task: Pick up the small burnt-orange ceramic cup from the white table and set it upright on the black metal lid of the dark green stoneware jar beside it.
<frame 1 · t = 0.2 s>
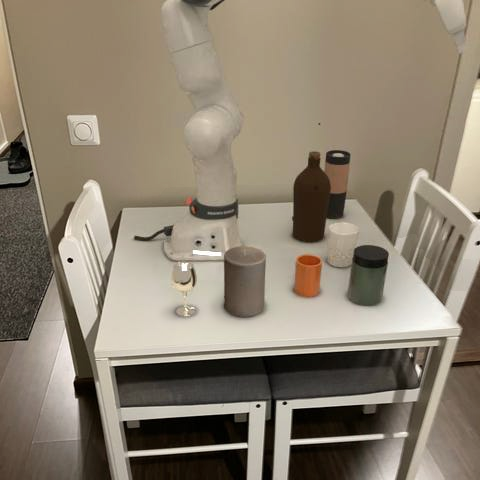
hand: (462, 48, 117), 54 cm above the table, tool tilted 30°, fingers open, 8 cm apart
travel mug: (332, 215, 180), on the table
wineglass: (185, 311, 130), on the table
white cup: (339, 262, 152), on the table
jar lid: (371, 254, 129), point 12 cm above the table, screwed on, not yet turned
jar: (364, 296, 136), on the table
olive oil: (308, 236, 166), on the table
cup: (306, 290, 138), on the table
pillar candle: (244, 307, 132), on the table
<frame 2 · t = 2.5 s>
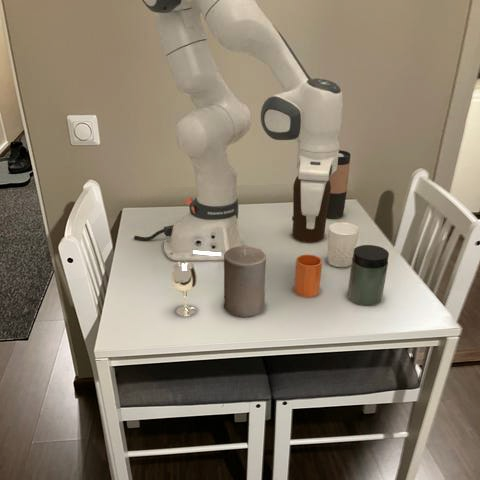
hand: (312, 219, 128), 19 cm above the table, tool pointing down, fingers open, 8 cm apart
nothing on the table moved.
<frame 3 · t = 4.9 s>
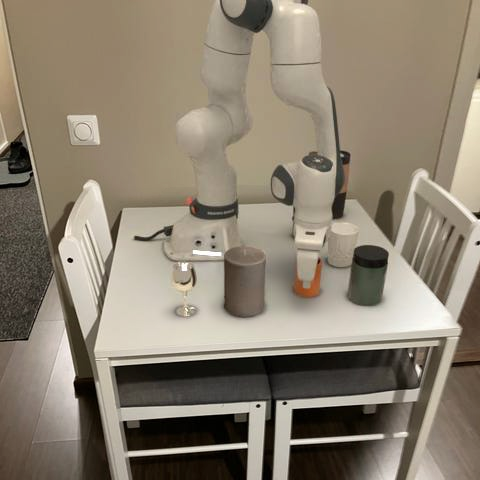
hand: (308, 279, 136), 3 cm above the table, tool pointing down, fingers closed on cup, 6 cm apart
cup: (306, 290, 138), on the table, touching gripper
everything else where it was.
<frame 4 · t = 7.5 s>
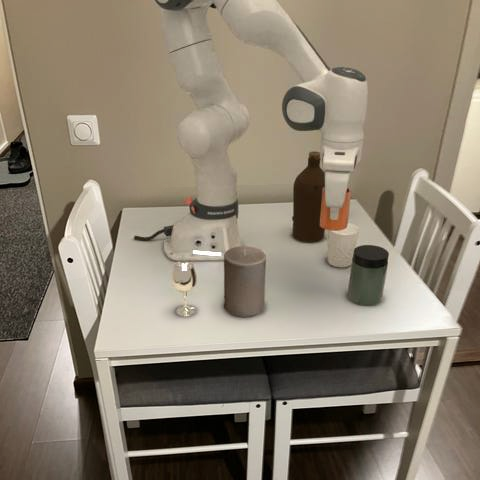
hand: (335, 212, 125), 21 cm above the table, tool pointing down, fingers closed on cup, 6 cm apart
cup: (333, 225, 127), point 18 cm above the table, touching gripper
everything else where it was.
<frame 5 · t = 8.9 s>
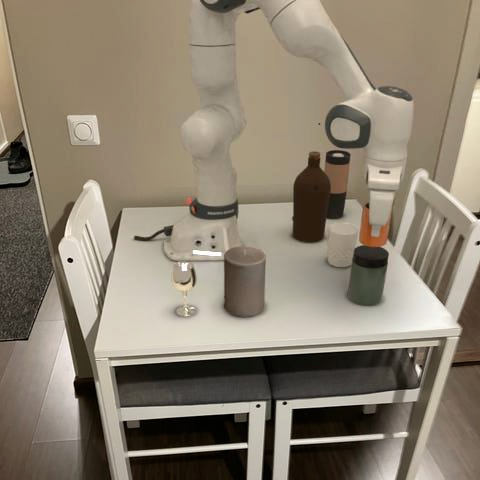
hand: (374, 228, 126), 18 cm above the table, tool pointing down, fingers closed on cup, 6 cm apart
cup: (372, 241, 128), point 15 cm above the table, touching gripper
everything else where it was.
when the fingers open (15 cm above the table, at t = 10.2 s): cup stays where it is, resting on jar lid.
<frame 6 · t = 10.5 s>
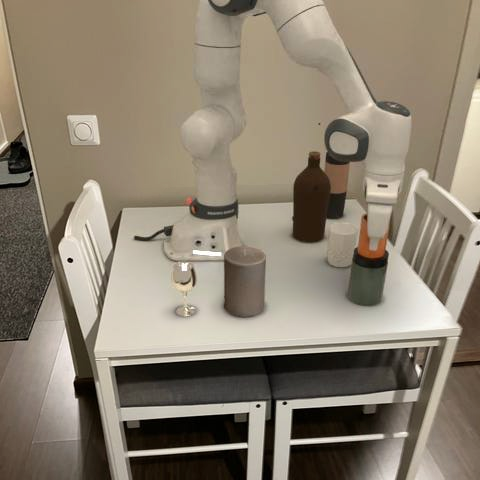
hand: (373, 240, 128), 15 cm above the table, tool pointing down, fingers open, 8 cm apart
jar lid: (371, 254, 129), point 12 cm above the table, screwed on, not yet turned, touching cup
cup: (370, 252, 129), point 12 cm above the table, touching jar lid
everything else where it was.
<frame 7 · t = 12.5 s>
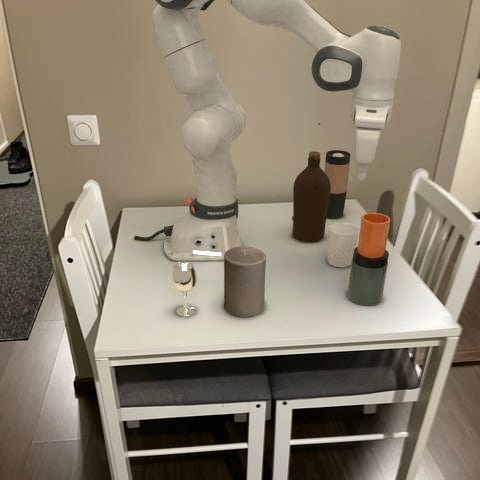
hand: (362, 172, 128), 28 cm above the table, tool pointing down, fingers open, 8 cm apart
nothing on the table moved.
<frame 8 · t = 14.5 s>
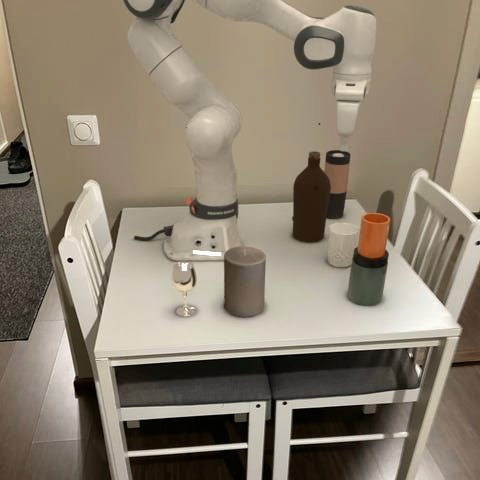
hand: (344, 145, 137), 31 cm above the table, tool pointing down, fingers open, 8 cm apart
nothing on the table moved.
at the end: cup 0.1 cm off-centre on the jar, point 12.2 cm above the jar's base; cup tilted 0°; the gripper is holding nothing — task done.
